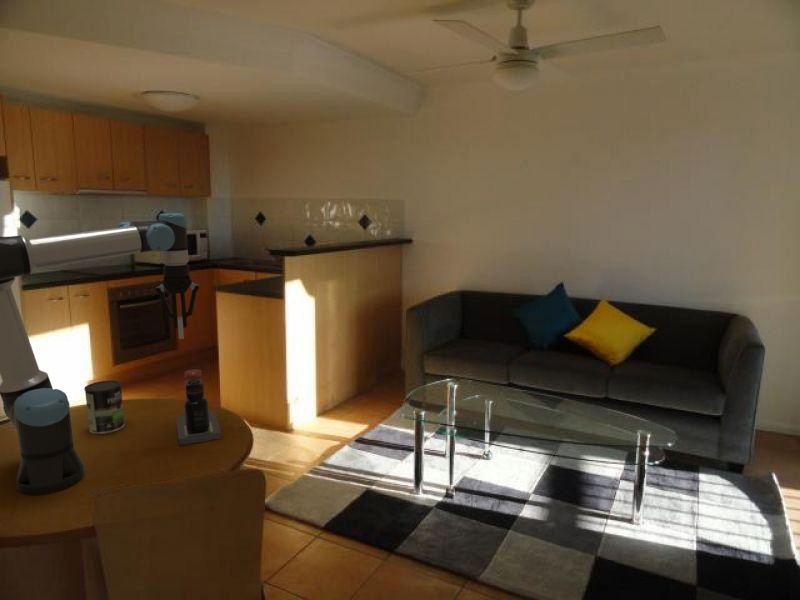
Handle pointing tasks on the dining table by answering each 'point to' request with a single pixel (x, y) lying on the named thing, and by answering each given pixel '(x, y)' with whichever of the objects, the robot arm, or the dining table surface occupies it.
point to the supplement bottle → (196, 411)
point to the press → (196, 437)
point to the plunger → (193, 375)
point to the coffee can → (104, 407)
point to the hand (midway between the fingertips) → (181, 337)
